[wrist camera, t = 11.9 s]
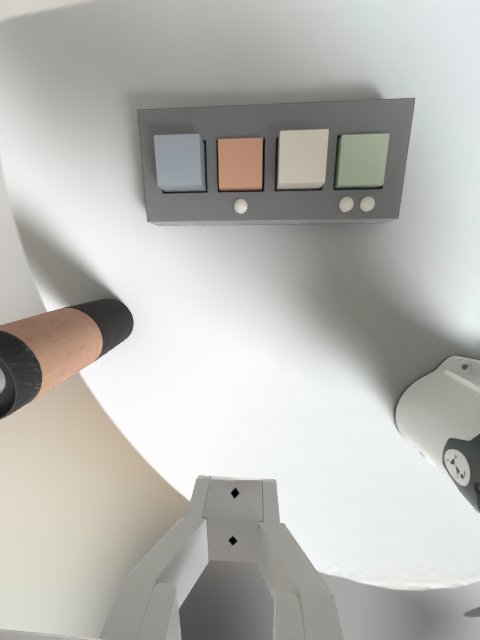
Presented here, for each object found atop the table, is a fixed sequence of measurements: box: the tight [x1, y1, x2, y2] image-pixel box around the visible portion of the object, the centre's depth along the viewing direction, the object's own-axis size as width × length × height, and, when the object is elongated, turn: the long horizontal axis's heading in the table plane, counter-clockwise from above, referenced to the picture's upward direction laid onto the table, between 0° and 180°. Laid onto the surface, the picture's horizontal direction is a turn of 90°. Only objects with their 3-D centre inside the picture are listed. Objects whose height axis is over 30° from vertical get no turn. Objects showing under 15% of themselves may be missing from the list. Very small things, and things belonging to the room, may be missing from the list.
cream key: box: [276, 129, 329, 191], centre depth 29 cm, size 5×5×4 cm
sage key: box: [333, 133, 390, 190], centre depth 30 cm, size 5×5×4 cm
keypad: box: [137, 98, 415, 226], centre depth 31 cm, size 30×12×4 cm, turn 90°
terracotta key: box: [218, 138, 263, 192], centre depth 31 cm, size 5×5×4 cm
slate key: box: [154, 134, 208, 194], centre depth 30 cm, size 5×5×4 cm
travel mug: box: [0, 299, 133, 419], centre depth 30 cm, size 8×8×20 cm
